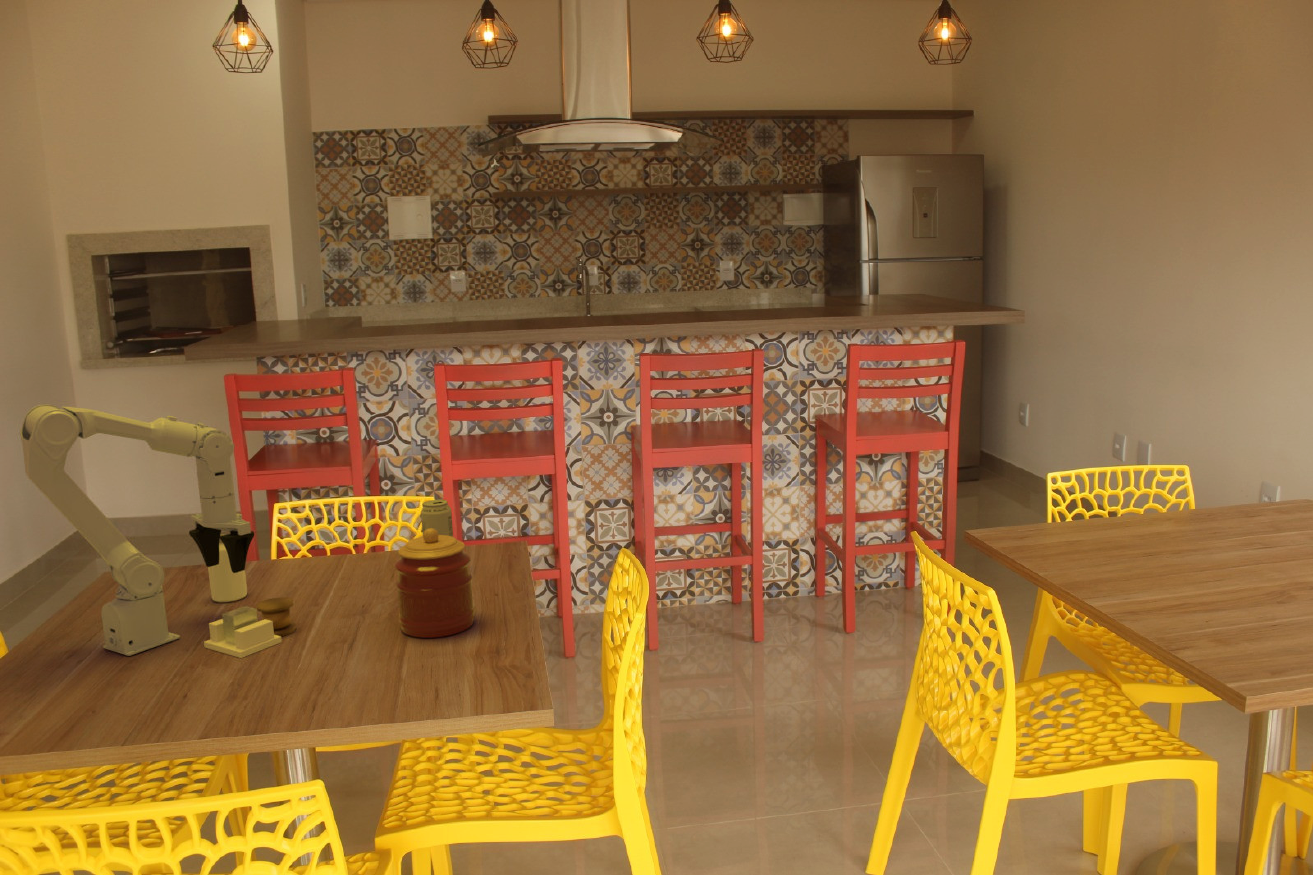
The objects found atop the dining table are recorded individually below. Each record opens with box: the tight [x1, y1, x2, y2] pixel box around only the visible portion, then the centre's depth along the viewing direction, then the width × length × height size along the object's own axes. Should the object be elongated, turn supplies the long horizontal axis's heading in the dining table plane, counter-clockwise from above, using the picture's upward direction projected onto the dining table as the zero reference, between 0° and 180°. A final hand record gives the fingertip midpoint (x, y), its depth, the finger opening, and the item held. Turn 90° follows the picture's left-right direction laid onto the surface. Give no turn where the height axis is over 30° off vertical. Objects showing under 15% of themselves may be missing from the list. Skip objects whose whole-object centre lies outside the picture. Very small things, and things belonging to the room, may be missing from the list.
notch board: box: [203, 618, 282, 659], centre depth 179 cm, size 8×10×4 cm
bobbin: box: [256, 597, 297, 638], centre depth 185 cm, size 6×6×5 cm
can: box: [207, 533, 248, 604], centre depth 204 cm, size 6×6×12 cm
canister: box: [394, 528, 476, 639], centre depth 183 cm, size 13×13×18 cm
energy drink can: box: [420, 499, 454, 537], centre depth 213 cm, size 6×6×15 cm
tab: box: [221, 605, 259, 645], centre depth 179 cm, size 3×4×5 cm, turn 146°
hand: (225, 568), depth 190 cm, fingers open, 7 cm apart
